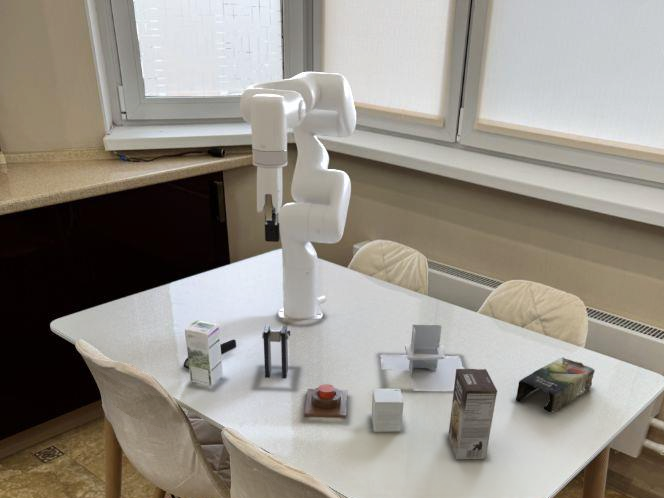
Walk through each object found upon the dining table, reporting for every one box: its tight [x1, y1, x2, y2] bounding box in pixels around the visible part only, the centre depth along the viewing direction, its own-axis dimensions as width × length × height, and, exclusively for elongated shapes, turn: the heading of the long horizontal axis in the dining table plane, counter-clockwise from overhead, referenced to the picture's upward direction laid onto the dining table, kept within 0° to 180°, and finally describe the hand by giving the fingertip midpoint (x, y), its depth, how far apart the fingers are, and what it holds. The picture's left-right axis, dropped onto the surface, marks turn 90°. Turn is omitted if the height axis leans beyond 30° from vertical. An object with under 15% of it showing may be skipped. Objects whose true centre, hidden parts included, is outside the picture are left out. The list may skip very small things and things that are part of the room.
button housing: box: [303, 387, 348, 419], centre depth 153 cm, size 11×9×4 cm
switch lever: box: [270, 329, 291, 343], centre depth 164 cm, size 12×5×2 cm, turn 0°
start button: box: [317, 383, 336, 398], centre depth 152 cm, size 4×4×2 cm
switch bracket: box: [261, 324, 290, 379], centre depth 162 cm, size 11×9×13 cm
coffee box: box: [448, 368, 498, 460], centre depth 139 cm, size 9×6×16 cm
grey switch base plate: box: [379, 324, 465, 393], centre depth 168 cm, size 19×21×12 cm
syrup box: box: [184, 320, 224, 387], centre depth 158 cm, size 6×6×14 cm
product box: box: [370, 388, 405, 433], centre depth 148 cm, size 6×6×7 cm
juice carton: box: [515, 356, 595, 414], centre depth 162 cm, size 20×10×6 cm, turn 136°
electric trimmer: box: [183, 338, 237, 371], centre depth 172 cm, size 4×16×3 cm, turn 142°
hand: (272, 240), depth 161 cm, fingers closed
